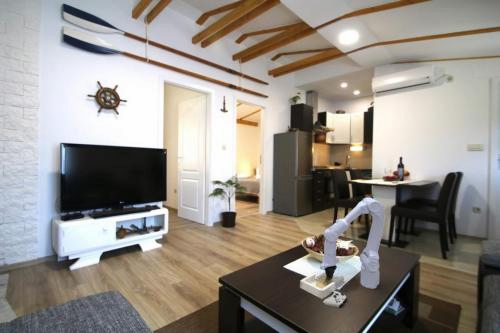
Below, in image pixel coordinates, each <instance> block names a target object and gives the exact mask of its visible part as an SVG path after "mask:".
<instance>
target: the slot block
mask: <svg viewBox="0 0 500 333" xmlns="http://www.w3.org/2000/svg"><path fill="white" fill-rule="evenodd" d="M324 276H326V272H325V271H324V272H323V273H320V275H318V276H315V281H317V280H319V279H320V278H322V277H324ZM332 282H334V283H335V291H337V290H338V289H339V288H341V287H342V286H344V285H345V284H347V281H345V277H344V276H343V275H340V276H339V277H335V276H333V278H332ZM332 282H331V283H332Z"/></svg>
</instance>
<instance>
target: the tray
mask: <svg viewBox="0 0 500 333" xmlns="http://www.w3.org/2000/svg"><path fill="white" fill-rule="evenodd" d="M315 279H316V274H315V273H312V274H310V275H307V276H306V277H304V278H302V279H301V280H300V281H299V288H300V289H302V290H303V291H306V292H307V293H309V294H311V295H313V296H315V297H317V298H319V299H320V300H323V299H326V297H327V296H329V295H330V294H332V293H331V292H332V291H336V290H335V283H334V282H332V283H330V284H329V285H327V286H326V287H324V288H322V289H321V288H319V287H317V286H316V281H315Z"/></svg>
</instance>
